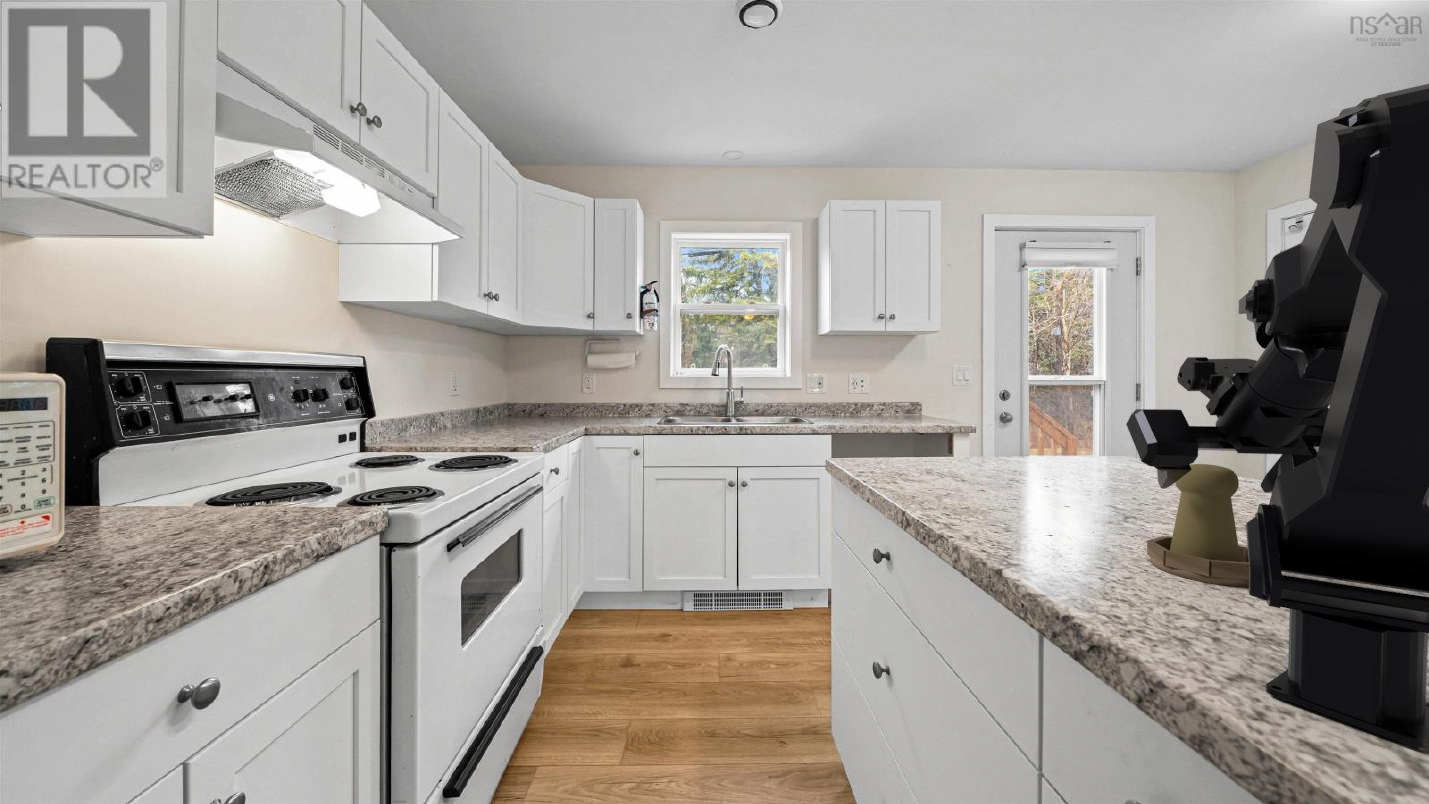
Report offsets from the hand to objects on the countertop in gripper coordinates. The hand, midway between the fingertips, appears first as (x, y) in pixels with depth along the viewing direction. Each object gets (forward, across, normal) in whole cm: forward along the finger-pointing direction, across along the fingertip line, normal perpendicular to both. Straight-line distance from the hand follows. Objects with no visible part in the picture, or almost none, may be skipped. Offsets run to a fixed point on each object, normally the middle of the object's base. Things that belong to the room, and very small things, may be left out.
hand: (1211, 487), depth 58 cm
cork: (+7, 0, +6) cm, 9 cm away
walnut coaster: (+7, 0, +6) cm, 10 cm away
